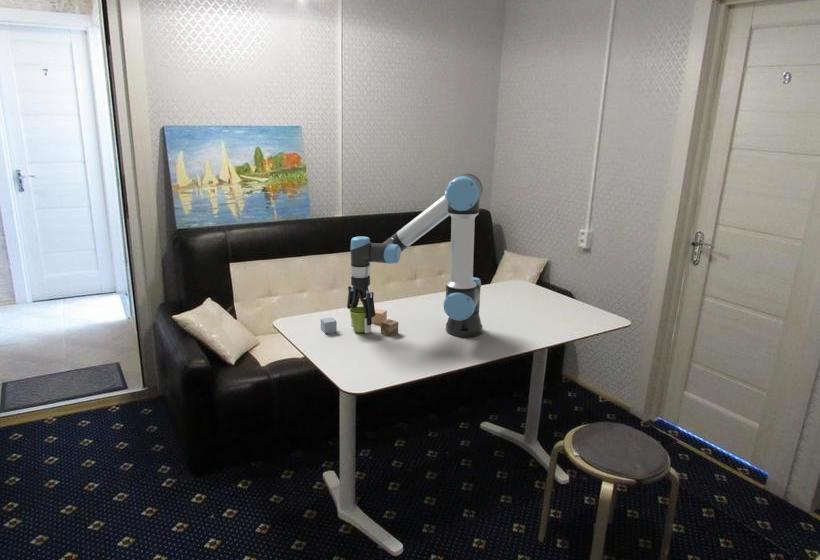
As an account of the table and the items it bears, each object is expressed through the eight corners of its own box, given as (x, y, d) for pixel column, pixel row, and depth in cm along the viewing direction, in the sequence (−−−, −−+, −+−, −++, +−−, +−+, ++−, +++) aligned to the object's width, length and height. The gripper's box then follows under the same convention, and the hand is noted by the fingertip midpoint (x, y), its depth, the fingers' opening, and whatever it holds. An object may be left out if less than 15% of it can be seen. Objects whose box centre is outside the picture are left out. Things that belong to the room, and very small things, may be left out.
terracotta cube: (386, 321, 251) (386, 310, 250) (381, 325, 246) (381, 313, 245) (376, 319, 253) (376, 308, 251) (371, 323, 248) (371, 312, 247)
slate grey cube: (336, 332, 236) (336, 321, 235) (324, 334, 234) (324, 322, 233) (332, 328, 241) (332, 317, 239) (320, 330, 239) (320, 318, 237)
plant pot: (371, 334, 233) (371, 313, 231) (348, 334, 234) (348, 313, 231) (373, 326, 242) (373, 306, 240) (350, 325, 243) (350, 306, 240)
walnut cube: (398, 333, 238) (398, 321, 236) (390, 336, 234) (390, 325, 232) (388, 330, 240) (388, 319, 239) (380, 333, 237) (380, 322, 235)
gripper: (384, 279, 227) (384, 334, 233) (352, 268, 242) (353, 320, 248) (369, 282, 222) (369, 338, 228) (337, 271, 237) (338, 324, 243)
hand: (361, 329), depth 238 cm, fingers closed on plant pot, 8 cm apart
